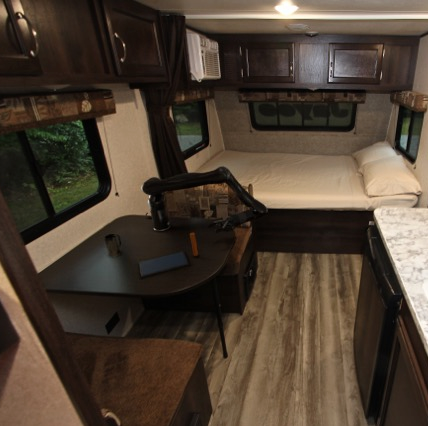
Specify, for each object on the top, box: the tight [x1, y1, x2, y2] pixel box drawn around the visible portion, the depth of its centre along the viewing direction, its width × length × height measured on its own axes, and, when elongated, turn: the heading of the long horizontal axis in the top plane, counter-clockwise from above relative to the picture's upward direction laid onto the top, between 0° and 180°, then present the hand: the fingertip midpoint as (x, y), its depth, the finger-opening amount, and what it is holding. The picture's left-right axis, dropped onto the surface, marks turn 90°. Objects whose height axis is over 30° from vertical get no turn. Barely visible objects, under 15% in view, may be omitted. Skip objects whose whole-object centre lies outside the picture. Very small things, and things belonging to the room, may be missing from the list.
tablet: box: [138, 250, 190, 279], centre depth 150 cm, size 14×22×1 cm, turn 120°
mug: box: [104, 233, 122, 258], centre depth 156 cm, size 8×6×12 cm
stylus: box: [189, 232, 199, 258], centre depth 155 cm, size 2×2×14 cm
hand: (212, 228), depth 160 cm, fingers open, 8 cm apart
